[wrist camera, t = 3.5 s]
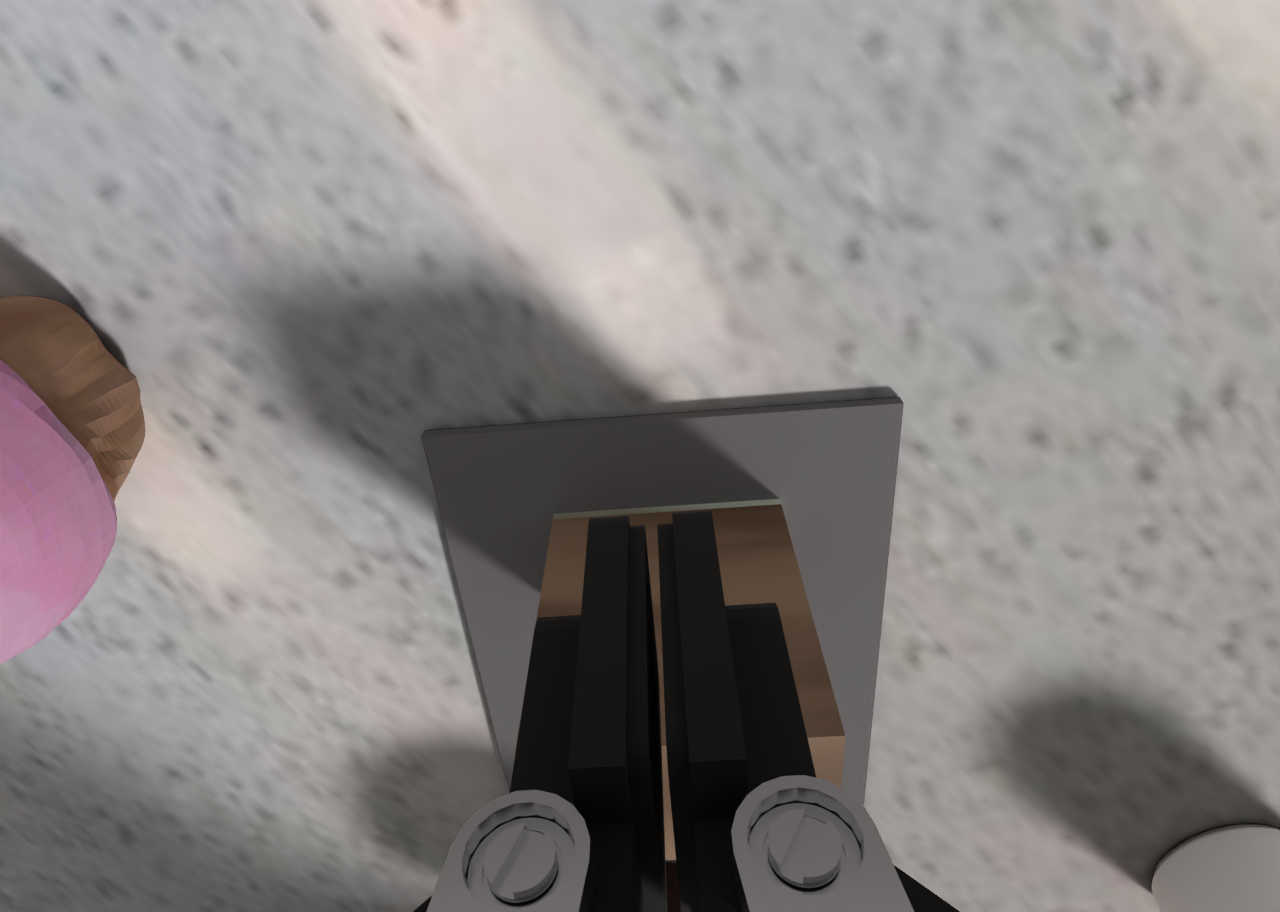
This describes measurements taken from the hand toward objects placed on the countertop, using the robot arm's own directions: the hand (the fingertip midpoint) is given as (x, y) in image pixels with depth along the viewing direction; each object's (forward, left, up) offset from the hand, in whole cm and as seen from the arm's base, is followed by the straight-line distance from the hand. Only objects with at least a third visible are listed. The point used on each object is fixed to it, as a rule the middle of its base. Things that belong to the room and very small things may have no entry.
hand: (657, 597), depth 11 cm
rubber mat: (-12, 0, -12) cm, 17 cm away
